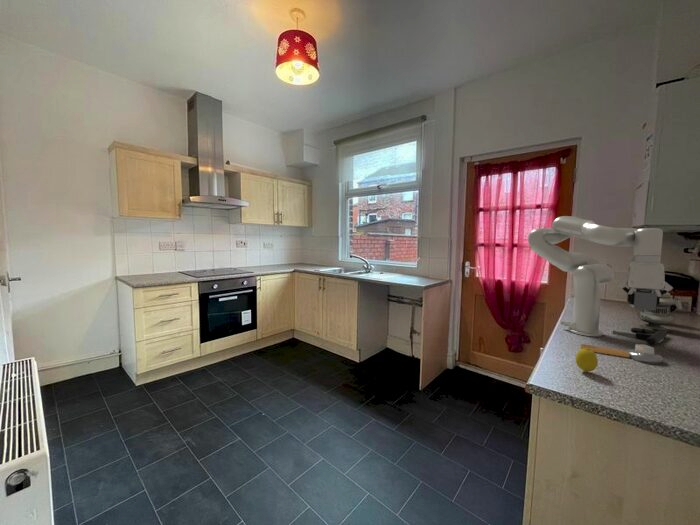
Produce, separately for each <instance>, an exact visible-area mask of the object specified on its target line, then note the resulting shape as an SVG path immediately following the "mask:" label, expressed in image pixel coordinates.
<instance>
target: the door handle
mask: <svg viewBox="0 0 700 525" xmlns="http://www.w3.org/2000/svg"><path fill="white" fill-rule="evenodd" d="M612 334H613V335H616V334H617V336H621V335H622V336H621V337H628V338H631V339H632V338H633V339H635V340H639V341H644V342H646V343H647V344H649V346H650V345H651V346H652V345H653V346H654V345H657V344H660V343H661V342H662V341H664V338H666V337H667V338H668V337H669V336H668V335H669V333H668V334H667V332H665V331H662V330H660V331H655V330H648V329H644V328H641V327H631V329H630V332H625V331H620V330H619V331H618V330H612Z"/></svg>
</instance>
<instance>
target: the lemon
mask: <svg viewBox="0 0 700 525" xmlns="http://www.w3.org/2000/svg"><path fill="white" fill-rule="evenodd" d="M598 362H599V361H598V356H597V353H595V352H593V351H591V350H589V349H588V348H586V349H581V348H580V349H579V350H578V351H577V353H576V356H575V363H576V365H577V367H578V368H579V369H580V370H582V371H583V372H584V371H585V372H584V373H589V372H593V371H594V370H595V369H597V367H598V364H599V363H598Z"/></svg>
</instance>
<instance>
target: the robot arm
mask: <svg viewBox="0 0 700 525" xmlns="http://www.w3.org/2000/svg"><path fill="white" fill-rule="evenodd" d="M551 227H552V228H551ZM551 227H549V228H548V227H547V228H546V227H540V228H535V229H533V230H531V231H530V232H529V234H528V237H527V240H528V241H527V242H528V245H529V248H530V249H531V250H532V251H533V253H535V254H536V255H537V256H539V257H541V258H543V259H544V260H546V261H547V262H548V263H550V264H551V265H553V266H555V267H556V268H557V269H559V270H561V271H562V272H566V273H572V280H573V288H574V289H573V291H574V292H573V310H572V311H573V312H572V313H573V314H572V319H571V320H569V321H565V320H560V326H564V327H567V330H568V332H570V333H573V334H576V335H581V336H585V337H597V338H598V337H602V336H603V335H604V333H603V331H601V330H599V329H600V318H601V317H600V313H601V302H602V301H601V300H602V295H601V289H600V286H601V285H606V284H610V283H611V282H612V281H613V280H614V278H615V273H614V270H613V269H612V268H611V266H609V265H608V264H605V263H604V262H602V261H600V260H599V259H596V258H595V257H593V256H592V255H589V254H587V253H584V252H572V251H571V252H570V251H567V250H565V249H563V248H562V247H560V246H558V245H556V244H559V243H562V242H563V241H566V240H567V239H570V238H571V237H576V238H580V239H583V240H586V241H588V242H592V243H595V244H600V245H604V246H609V247H633V254H632V255H631V256H628V257H627V259H628V260H629V261H630V260H631V261H632V262H630V264H629V267H628V271H627V275H626V278H625V279H623V280H621V281H620V282H618V283H617V286H618V287H620V288H621V289H622V290H623V291H624V292H626V294H627V300H626V301H627V302H628V304H629V305H630V304H631V305H632V304H633V298H634V295H633V292H634V290H636V288H638V289H651V290H652V291H654V292H655V293H657V304H658V305H659V301H660V297H661V296H662V295H663V294H665V293H669V292H670V291H672V290H673V289H674V287H673V286H672V285H670V284H669V283H668V282H667V281H665V280H666V279H665V277H666V275H665V266H664V264H663V263H661V259H662V258H661V257H662V256H661V255H662V246H663V236H664V235H663V234H664V232H663V229H661V228H658V227H642V228H629V227H612V226H608V225H607V226H606V225H601V224H596V222H595V221H594V220H590V219H583V218H580V217H579V216H572V215H571V216H569V215H563V216H558V217H557V218H555V219H554V220H553V221H552V226H551ZM625 285H626V286H627V287H626V286H625ZM657 304H656V307H657Z"/></svg>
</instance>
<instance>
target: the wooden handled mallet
mask: <svg viewBox="0 0 700 525" xmlns="http://www.w3.org/2000/svg"><path fill="white" fill-rule="evenodd" d="M579 345H580V346H579V347H580V350H581V349H586V348H588V349H589V350H591V351H593V352H594V353H595V352H598V353H597V354H601V353H604V354H603V355H607V354H611V355H610V356H613V355H616V356H615V357H619V356H623V357H622V358H625V357H628V358H627V359H630V360H632V359H633V361H635V362H639V363H643V364H649V365H662V364H663V356H662V355H661V354H658V353H655V347H652V346H650V345H647V344H635V347H634V348H629V349H627V350H622V349H616V348H609V347H604V346H597V345H590V344H585V343H584V344H583V343H580V344H579Z"/></svg>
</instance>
